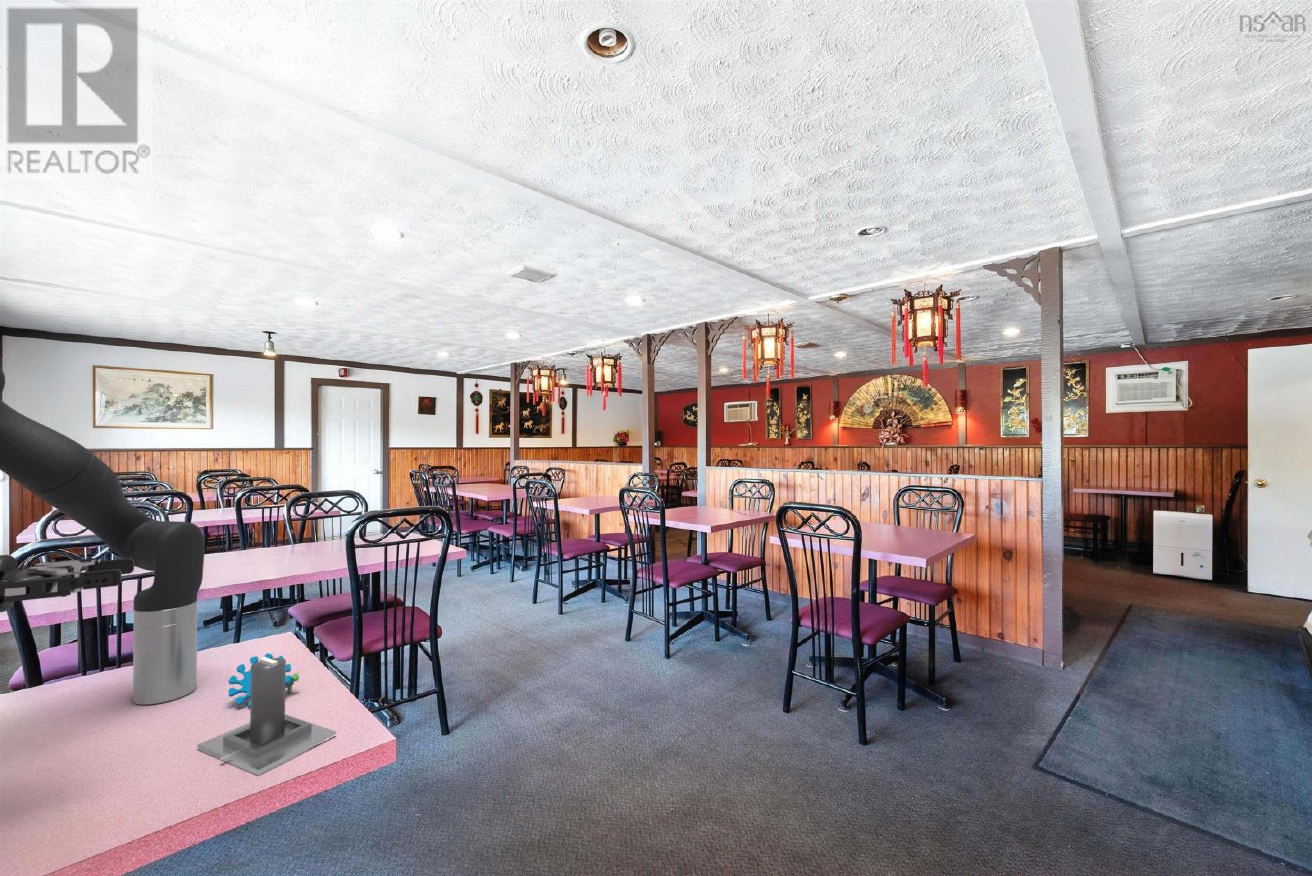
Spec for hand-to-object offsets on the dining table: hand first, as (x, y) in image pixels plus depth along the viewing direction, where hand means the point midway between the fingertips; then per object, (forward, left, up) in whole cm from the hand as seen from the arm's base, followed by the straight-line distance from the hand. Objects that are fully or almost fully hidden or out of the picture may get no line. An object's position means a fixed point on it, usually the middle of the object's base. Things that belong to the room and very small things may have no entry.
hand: (127, 571), depth 81 cm
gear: (-8, +23, -30) cm, 39 cm away
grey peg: (+9, +14, -29) cm, 34 cm away
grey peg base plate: (+9, +14, -30) cm, 34 cm away
